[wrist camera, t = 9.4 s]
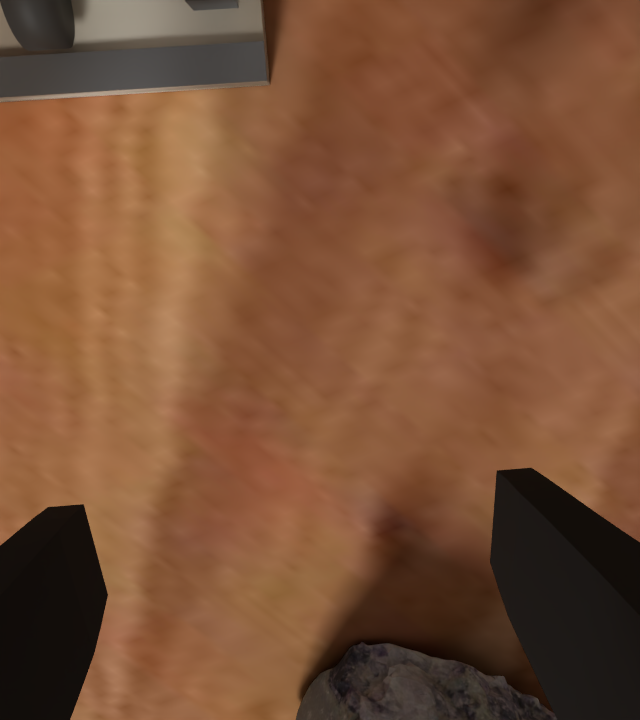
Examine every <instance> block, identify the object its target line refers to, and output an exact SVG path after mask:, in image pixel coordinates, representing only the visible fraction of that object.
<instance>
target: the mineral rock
mask: <svg viewBox="0 0 640 720" xmlns="http://www.w3.org/2000/svg"><path fill="white" fill-rule="evenodd" d="M296 720H557V718H556V716H555V714H554V713H553V712H551V711H549V710H548V709H547V708H546V707H545V706H544V705H543V704H540V702H539V699H538V698H536V697H534V696H532V695H528V694H521V693H520V692H519V691H518V690H515V689H513V688H512V687H511V685H508V684H507V682H506V680H505V677H504V676H487V675H484V674H483V673H481V672H479V671H478V670H477V669H475V668H474V667H472V666H469V665H467V664H464V663H462V662H459V661H454V660H443V659H440V658H437V657H430V656H428V655H426V654H423V653H421V652H418V651H414V650H410V649H405V648H403V647H400V646H397V645H394V644H390V643H384V644H377V645H369V646H368V645H366V644H365V643H363V642H361V643H360V644H359V645H353V646H352V647H351V648H349V650H348V651H347V652H346V654H345V655H344V656H343V658H342V659H341V661H340V662H339V664H337V665H336V666H335V667H334V668H332V669H329V670H326V671H324V672H322V673H320V675H319V676H318V677H317V678H316V679H315V680H314V681H313V682H312V683H311V685H310V686H309V688H308V690H307V692H306V694H305V696H304V698H303V700H302V702H301V705H300V707H299V709H298V713H297V717H296Z"/></svg>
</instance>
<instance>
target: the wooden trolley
mask: <svg viewBox="0 0 640 720" xmlns="http://www.w3.org/2000/svg"><path fill="white" fill-rule="evenodd" d="M0 3H1V7H2V10H3V13H4V15H5V18H6V20H7V23H8V25H9V27H10V29H11V31H12V33H13V35H14V36H15V38H16V39H17V41H18V42H19V43H20V45H21V46H22V47H23V48H25V49H26V50H28V51H37V50H55V49H70V48H71V47H72V46H73V43H74V38H75V23H74V14H73V8H72V3H71V0H0Z"/></svg>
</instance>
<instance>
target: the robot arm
mask: <svg viewBox="0 0 640 720" xmlns="http://www.w3.org/2000/svg"><path fill="white" fill-rule="evenodd" d="M490 563H491V566H492V569H493V572H494V575H495V579H496V582H497V585H498V588H499V591H500V594H501V597H502V600H503V603H504V605H505V608H506V611H507V614H508V617H509V619H510V621H511V623H512V626H513V628H514V630H515V632H516V634H517V636H518V638H519V641H520V643H521V645H522V647H523V649H524V651H525V653H526V655H527V658H528V660H529V662H530V664H531V666H532V668H533V670H534V672H535V674H536V676H537V679H538V681H539V683H540V685H541V687H542V689H543V691H544V693H545V695H546V697H547V699H548V702H549V704H550V706H551V708H552V710H553V712H554V714H555V716H556V718H557V720H640V542H638V541H637V540H635V539H634V538H632V537H631V536H629V535H628V534H626V533H625V532H623V531H622V530H620V529H619V528H617V527H616V526H614V525H613V524H611V523H610V522H609V521H607V520H606V519H604V518H603V517H601V516H600V515H598V514H597V513H596V512H594V511H593V510H591V509H590V508H588V507H587V506H586V505H584V504H583V503H581V502H580V501H579V500H577V499H576V498H574V497H573V496H572V495H570V494H569V493H567V492H566V491H564V490H563V489H562V488H560V487H559V486H557V485H556V484H555V483H553V482H552V481H550V480H549V479H547V478H546V477H544V476H543V475H542V474H540V473H538V472H537V471H535V470H534V469H532V468H523V469H511V470H499V471H497V475H496V489H495V503H494V516H493V530H492V544H491V558H490ZM107 596H108V594H107V590H106V586H105V582H104V579H103V575H102V571H101V568H100V564H99V560H98V556H97V553H96V549H95V545H94V541H93V538H92V534H91V530H90V527H89V523H88V519H87V515H86V512H85V508H84V504H82V505H70V506H58V507H48V508H46V509H45V510H44V511H42V512H41V513H40V514H38V515H37V516H36V517H35V518H33V519H32V520H31V521H30V522H28V523H27V524H26V525H25V526H23V527H22V528H21V529H20V530H19V531H17V532H16V533H15V534H14V535H13V536H11V537H10V538H9V539H8V540H7V541H6V542H4V543H3V544H2V545H1V546H0V720H70V718H71V716H72V713H73V710H74V708H75V705H76V702H77V700H78V697H79V694H80V691H81V689H82V686H83V683H84V680H85V678H86V675H87V672H88V669H89V667H90V664H91V661H92V658H93V655H94V652H95V648H96V644H97V640H98V636H99V632H100V628H101V624H102V619H103V614H104V610H105V605H106V601H107Z"/></svg>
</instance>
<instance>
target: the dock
mask: <svg viewBox="0 0 640 720" xmlns="http://www.w3.org/2000/svg"><path fill="white" fill-rule="evenodd" d="M71 3H72V8H73V14H74V23H75V38H74V43H73V46H72V47H71V48H70V49H55V50H37V51H28V50H26V49H25V48H23V47H22V46H21V45H20V43H19V42H18V41H17V39H16V38H15V36H14V35H13V33H12V31H11V29H10V27H9V25H8V23H7V20H6V18H5V15H4V13H3V10H2V7H1V3H0V102H11V101H26V100H42V99H58V98H74V97H90V96H106V95H121V94H137V93H153V92H169V91H185V90H201V89H216V88H232V87H248V86H264V85H270V79H269V67H268V56H267V44H266V32H265V20H264V8H263V0H71Z"/></svg>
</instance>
